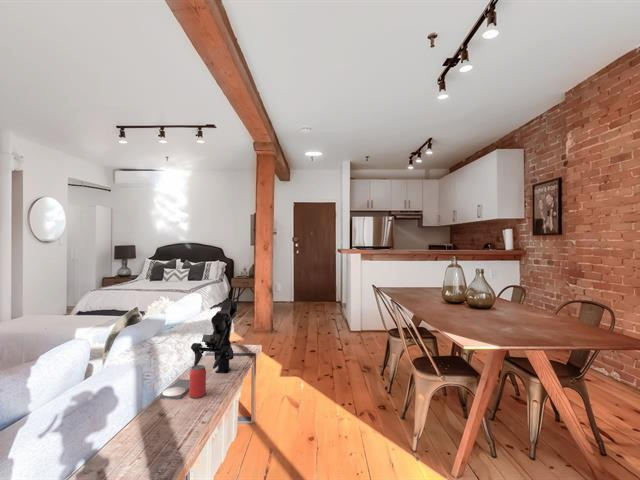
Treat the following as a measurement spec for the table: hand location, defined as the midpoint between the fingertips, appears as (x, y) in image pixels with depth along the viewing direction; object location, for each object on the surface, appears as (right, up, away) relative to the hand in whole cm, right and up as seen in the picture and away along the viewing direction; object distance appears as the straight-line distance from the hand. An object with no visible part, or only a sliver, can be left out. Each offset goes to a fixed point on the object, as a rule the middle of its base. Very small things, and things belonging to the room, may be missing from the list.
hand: (204, 367), depth 149 cm
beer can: (-1, -10, -5) cm, 12 cm away
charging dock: (-11, -10, +1) cm, 15 cm away
